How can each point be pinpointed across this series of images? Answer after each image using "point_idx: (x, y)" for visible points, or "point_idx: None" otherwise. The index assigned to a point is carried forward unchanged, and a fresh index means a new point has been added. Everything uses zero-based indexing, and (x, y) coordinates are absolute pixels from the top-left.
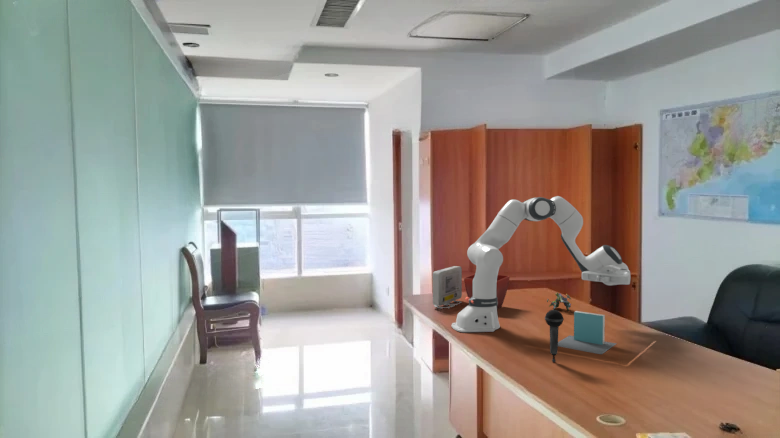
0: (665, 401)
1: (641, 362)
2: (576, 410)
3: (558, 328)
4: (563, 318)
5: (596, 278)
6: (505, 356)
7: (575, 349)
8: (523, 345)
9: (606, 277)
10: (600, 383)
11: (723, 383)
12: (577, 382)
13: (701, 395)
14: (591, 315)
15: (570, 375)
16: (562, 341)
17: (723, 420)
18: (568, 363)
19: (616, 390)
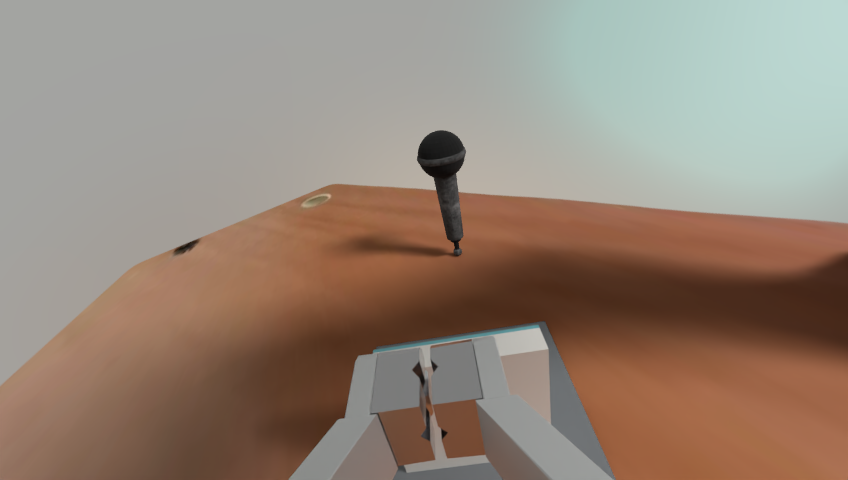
0: (246, 253)
1: (261, 376)
2: (353, 193)
3: (435, 182)
4: (418, 159)
5: (488, 341)
6: (558, 222)
7: (462, 334)
8: (611, 282)
9: (311, 453)
10: (343, 243)
11: (89, 370)
12: (377, 228)
13: (178, 296)
14: (437, 344)
15: (398, 236)
16: (555, 373)
17: (184, 255)
18: (428, 267)
19: (315, 241)
